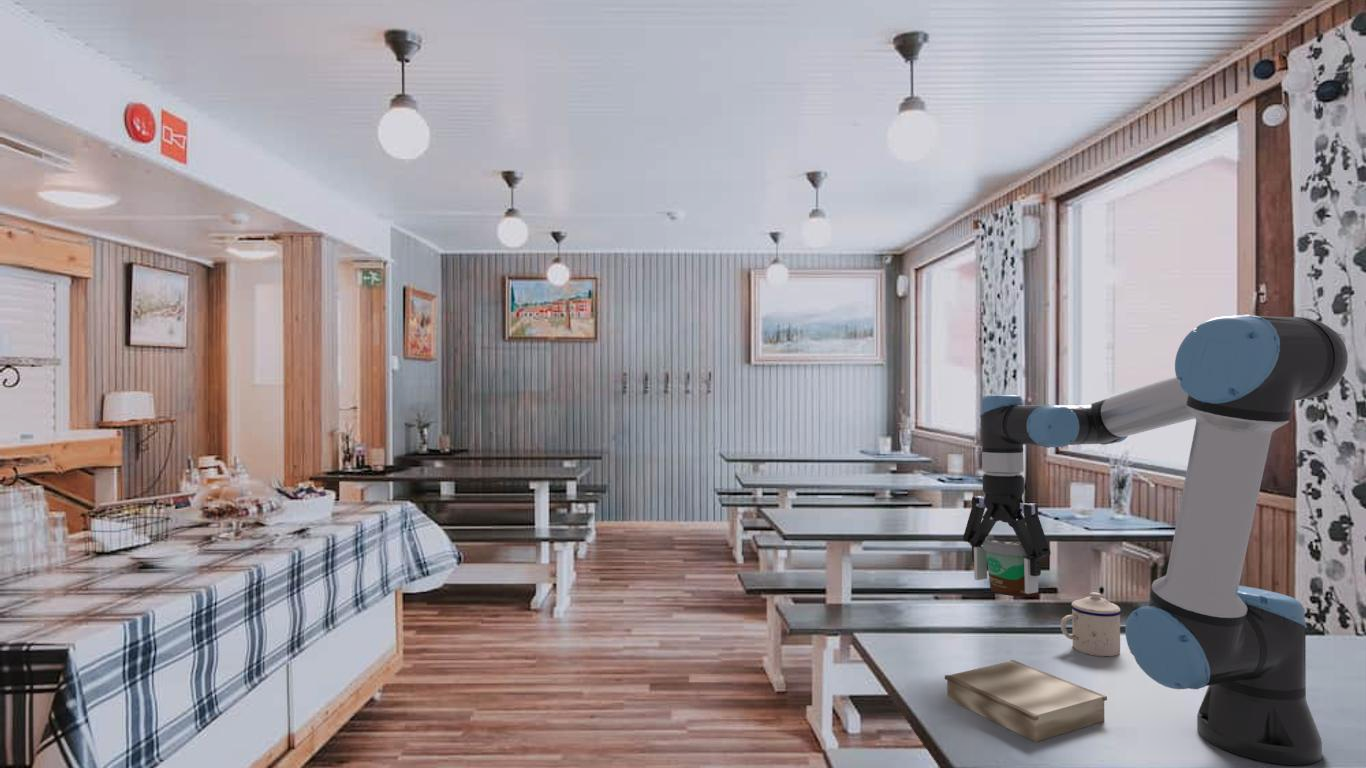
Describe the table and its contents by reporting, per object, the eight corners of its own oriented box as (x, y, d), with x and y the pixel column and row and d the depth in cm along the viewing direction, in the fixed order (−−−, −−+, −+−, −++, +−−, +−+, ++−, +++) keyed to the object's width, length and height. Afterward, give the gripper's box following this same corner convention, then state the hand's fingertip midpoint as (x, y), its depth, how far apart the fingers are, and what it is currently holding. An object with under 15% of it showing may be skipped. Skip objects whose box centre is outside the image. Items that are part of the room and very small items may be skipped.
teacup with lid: (1102, 641, 160) (1102, 586, 160) (1131, 656, 151) (1131, 598, 151) (1049, 643, 159) (1048, 588, 159) (1075, 659, 150) (1074, 600, 150)
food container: (969, 587, 152) (968, 537, 152) (992, 583, 154) (991, 534, 154) (1020, 601, 140) (1018, 547, 141) (1043, 597, 143) (1042, 544, 143)
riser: (1107, 721, 122) (1106, 696, 122) (1034, 742, 115) (1034, 716, 115) (1013, 681, 139) (1013, 659, 139) (944, 698, 132) (944, 675, 132)
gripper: (1070, 477, 139) (1073, 597, 138) (969, 468, 160) (972, 571, 160) (1041, 480, 135) (1044, 602, 135) (943, 469, 157) (945, 575, 156)
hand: (1005, 585), depth 147 cm, fingers closed on food container, 11 cm apart
